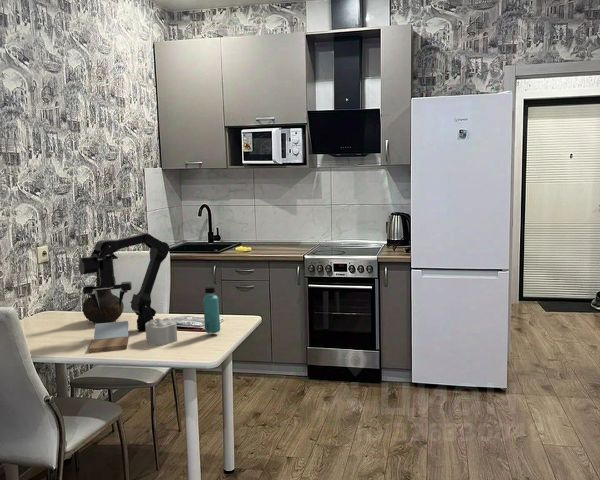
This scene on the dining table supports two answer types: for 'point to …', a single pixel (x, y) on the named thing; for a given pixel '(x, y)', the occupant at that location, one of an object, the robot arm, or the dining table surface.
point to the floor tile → (111, 330)
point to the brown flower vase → (103, 307)
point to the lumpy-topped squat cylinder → (161, 332)
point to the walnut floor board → (108, 344)
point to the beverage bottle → (211, 311)
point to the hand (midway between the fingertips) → (109, 308)
